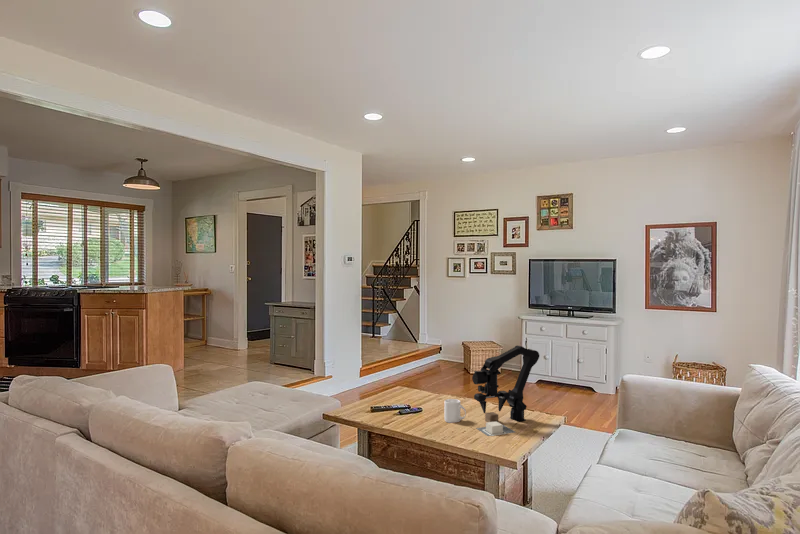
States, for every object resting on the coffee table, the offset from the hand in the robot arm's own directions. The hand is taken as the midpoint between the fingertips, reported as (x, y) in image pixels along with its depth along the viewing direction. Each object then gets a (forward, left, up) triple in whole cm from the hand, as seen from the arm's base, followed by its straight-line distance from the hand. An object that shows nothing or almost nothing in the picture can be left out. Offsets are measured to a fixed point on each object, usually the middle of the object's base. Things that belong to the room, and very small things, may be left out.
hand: (492, 412), depth 251 cm
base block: (+7, +14, -5) cm, 17 cm away
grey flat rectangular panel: (+5, +12, -6) cm, 14 cm away
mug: (+17, -9, -6) cm, 20 cm away
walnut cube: (0, 0, -6) cm, 6 cm away
